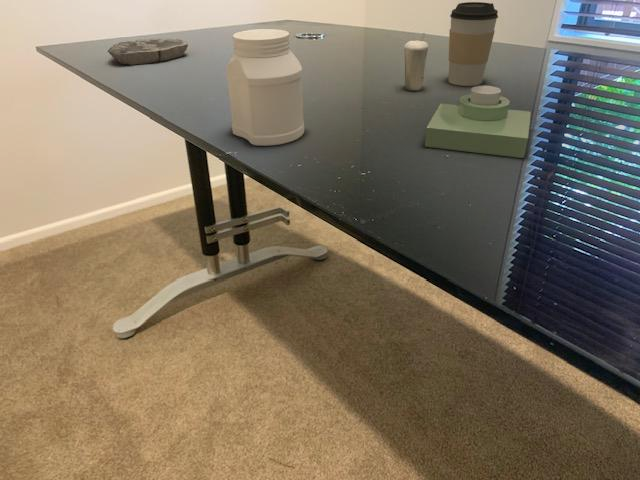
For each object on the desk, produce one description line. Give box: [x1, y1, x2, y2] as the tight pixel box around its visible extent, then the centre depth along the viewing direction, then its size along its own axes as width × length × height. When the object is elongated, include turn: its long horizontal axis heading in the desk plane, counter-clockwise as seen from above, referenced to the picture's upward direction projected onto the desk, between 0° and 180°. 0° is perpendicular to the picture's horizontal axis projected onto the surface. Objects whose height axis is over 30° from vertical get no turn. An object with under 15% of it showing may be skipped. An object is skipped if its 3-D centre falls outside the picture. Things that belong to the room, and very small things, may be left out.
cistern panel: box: [424, 93, 532, 159], centre depth 76 cm, size 14×13×5 cm
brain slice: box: [107, 38, 189, 66], centre depth 129 cm, size 20×17×3 cm
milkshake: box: [403, 32, 430, 92], centre depth 98 cm, size 4×5×10 cm
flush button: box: [469, 85, 502, 106], centre depth 77 cm, size 4×4×2 cm
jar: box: [225, 28, 305, 147], centre depth 77 cm, size 12×10×15 cm
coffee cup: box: [448, 1, 499, 87], centre depth 101 cm, size 9×9×15 cm
